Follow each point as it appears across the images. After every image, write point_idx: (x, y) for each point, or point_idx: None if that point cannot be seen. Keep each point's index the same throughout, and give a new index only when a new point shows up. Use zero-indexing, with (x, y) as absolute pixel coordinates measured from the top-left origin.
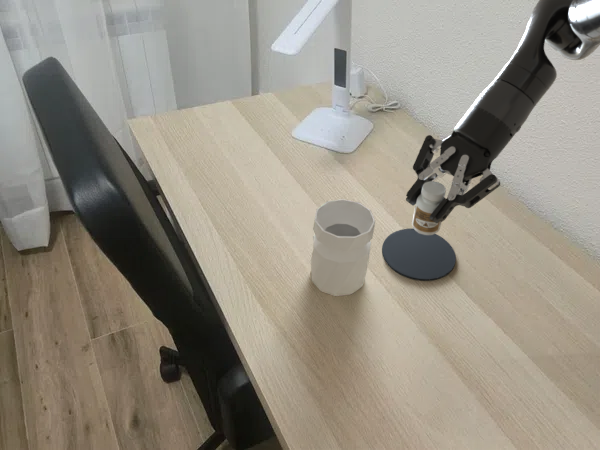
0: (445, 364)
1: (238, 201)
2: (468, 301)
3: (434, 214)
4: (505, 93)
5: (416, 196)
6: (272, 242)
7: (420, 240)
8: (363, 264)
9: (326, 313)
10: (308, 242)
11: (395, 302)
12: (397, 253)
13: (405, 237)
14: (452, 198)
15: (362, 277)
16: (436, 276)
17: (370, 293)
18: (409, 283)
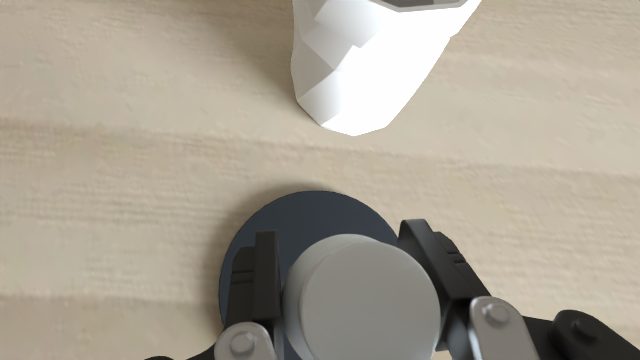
0: (37, 115)
1: (628, 40)
2: (122, 286)
3: (263, 241)
4: None
5: None
6: (489, 32)
7: None
8: (295, 45)
9: (277, 13)
10: (462, 88)
11: (224, 135)
12: (341, 232)
13: None
14: (228, 340)
15: (299, 84)
16: (226, 266)
17: (274, 108)
18: (251, 198)
